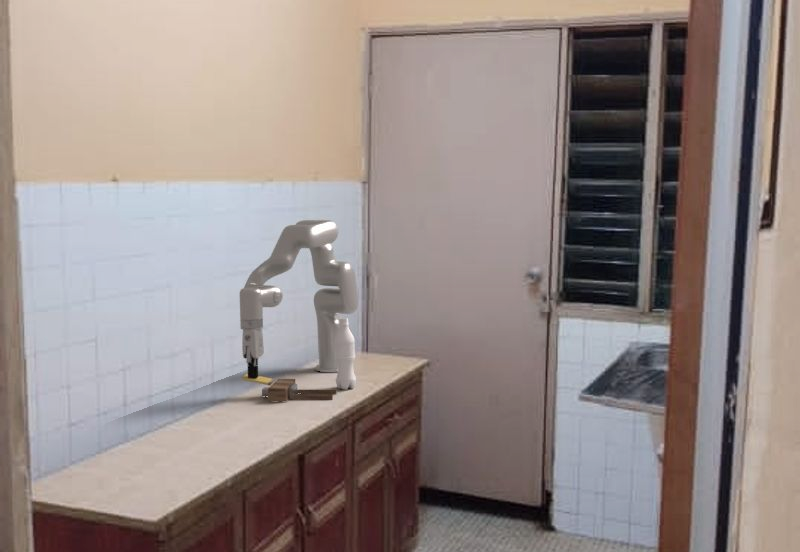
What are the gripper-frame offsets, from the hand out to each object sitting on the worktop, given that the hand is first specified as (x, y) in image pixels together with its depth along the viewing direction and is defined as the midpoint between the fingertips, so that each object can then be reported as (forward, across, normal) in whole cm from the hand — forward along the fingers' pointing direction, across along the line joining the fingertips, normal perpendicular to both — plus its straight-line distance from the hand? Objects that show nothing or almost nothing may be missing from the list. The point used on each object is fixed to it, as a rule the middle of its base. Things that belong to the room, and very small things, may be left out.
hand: (253, 377), depth 291 cm
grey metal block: (+7, +1, -8) cm, 11 cm away
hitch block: (+7, +1, -17) cm, 18 cm away
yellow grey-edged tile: (+1, +1, -2) cm, 2 cm away
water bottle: (+6, +13, -30) cm, 33 cm away
